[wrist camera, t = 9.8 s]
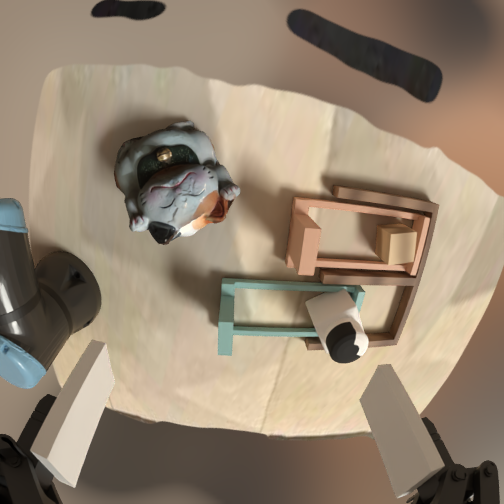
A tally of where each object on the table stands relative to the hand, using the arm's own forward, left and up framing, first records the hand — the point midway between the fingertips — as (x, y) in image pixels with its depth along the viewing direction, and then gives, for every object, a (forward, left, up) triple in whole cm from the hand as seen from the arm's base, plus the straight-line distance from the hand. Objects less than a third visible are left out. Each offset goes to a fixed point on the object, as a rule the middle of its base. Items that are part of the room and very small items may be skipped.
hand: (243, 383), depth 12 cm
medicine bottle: (+17, -15, -32) cm, 39 cm away
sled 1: (+19, -2, -31) cm, 36 cm away
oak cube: (+25, -2, -31) cm, 40 cm away
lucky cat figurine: (-9, +6, -32) cm, 33 cm away
